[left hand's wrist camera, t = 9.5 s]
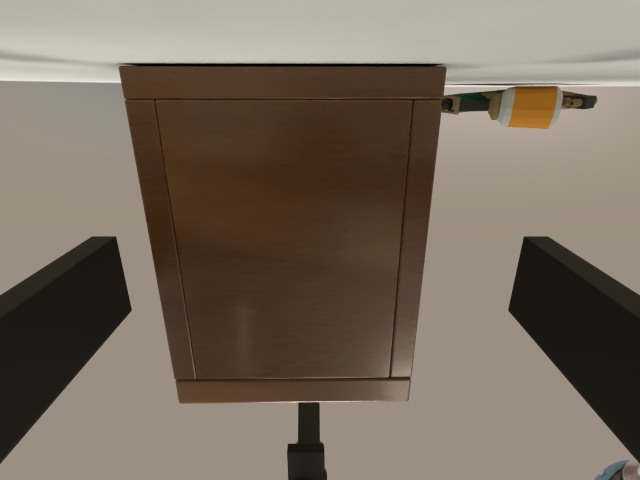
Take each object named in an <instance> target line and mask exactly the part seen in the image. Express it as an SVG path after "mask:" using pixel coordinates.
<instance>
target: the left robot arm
mask: <svg viewBox="0 0 640 480" xmlns="http://www.w3.org/2000/svg"><path fill="white" fill-rule="evenodd" d="M131 310H132V309H131V305H130V300H129V295H128V291H127V286H126V281H125V276H124V272H123V267H122V262H121V258H120V253H119V248H118V244H117V239H116V237H91V238H89V239H88V240H86V241H84V242H83V243H81V244H80V245H78V246H77V247H75V248H74V249H72V250H71V251H69V252H67V253H66V254H64V255H63V256H61V257H59V258H58V259H56V260H55V261H53V262H52V263H50V264H49V265H47V266H45V267H44V268H42V269H41V270H39V271H38V272H36V273H34V274H33V275H31V276H30V277H28V278H27V279H25V280H24V281H22V282H21V283H19V284H17V285H16V286H14V287H13V288H11V289H10V290H8V291H6V292H5V293H3V294H2V295H0V463H1V462H2V461H3V460H4V459H5V458H6V456H7V455H8V454H9V453H10V452H11V451H12V449H13V448H14V447H15V446H16V445H17V444H18V442H19V441H20V440H21V439H22V438H23V437H24V435H25V434H26V433H27V432H28V431H29V430H30V428H31V427H32V426H33V425H34V424H35V423H36V421H37V420H38V419H39V418H40V417H41V416H42V414H43V413H44V412H45V411H46V410H47V409H48V407H49V406H50V405H51V404H52V403H53V402H54V400H55V399H56V398H57V397H58V396H59V395H60V393H61V392H62V391H63V390H64V389H65V388H66V386H67V385H68V384H69V383H70V382H71V381H72V379H73V378H74V377H75V376H76V375H77V374H78V372H79V371H80V370H81V369H82V368H83V367H84V365H85V364H86V363H87V362H88V361H89V360H90V358H91V357H92V356H93V355H94V354H95V353H96V351H97V350H98V349H99V348H100V347H101V346H102V344H103V343H104V342H105V341H106V340H107V339H108V337H109V336H110V335H111V334H112V333H113V332H114V330H115V329H116V328H117V327H118V326H119V325H120V323H121V322H122V321H123V320H124V319H125V318H126V316H127V315H128V314H129V313H130V312H131ZM508 311H509V312H510V313H511V314H512V315H513V316H514V318H515V319H516V320H517V321H518V322H519V323H520V325H521V326H522V327H523V328H524V329H525V330H526V332H527V333H528V334H529V335H530V336H531V337H532V339H533V340H534V341H535V342H536V343H537V344H538V346H539V347H540V348H541V349H542V350H543V351H544V353H545V354H546V355H547V356H548V357H549V358H550V360H551V361H552V362H553V363H554V364H555V365H556V367H557V368H558V369H559V370H560V371H561V372H562V374H563V375H564V376H565V377H566V378H567V379H568V381H569V382H570V383H571V384H572V385H573V386H574V388H575V389H576V390H577V391H578V392H579V393H580V395H581V396H582V397H583V398H584V399H585V400H586V402H587V403H588V404H589V405H590V406H591V407H592V409H593V410H594V411H595V412H596V413H597V414H598V416H599V417H600V418H601V419H602V420H603V421H604V423H605V424H606V425H607V426H608V427H609V428H610V430H611V431H612V432H613V433H614V434H615V435H616V437H617V438H618V439H619V440H620V441H621V442H622V444H623V445H624V446H625V447H626V448H627V449H628V451H629V452H630V453H631V454H632V455H633V456H634V458H635V459H636V460H637V461H638V462H639V463H640V295H638V294H637V293H635V292H634V291H632V290H631V289H629V288H627V287H626V286H624V285H623V284H621V283H620V282H618V281H616V280H615V279H613V278H612V277H610V276H609V275H607V274H606V273H604V272H602V271H601V270H599V269H598V268H596V267H595V266H593V265H591V264H590V263H588V262H587V261H585V260H584V259H582V258H581V257H579V256H577V255H576V254H574V253H573V252H571V251H570V250H568V249H566V248H565V247H563V246H562V245H560V244H559V243H557V242H556V241H554V240H552V239H551V238H549V237H524V239H523V244H522V248H521V253H520V258H519V262H518V267H517V272H516V276H515V281H514V286H513V290H512V295H511V300H510V304H509V309H508Z"/></svg>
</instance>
